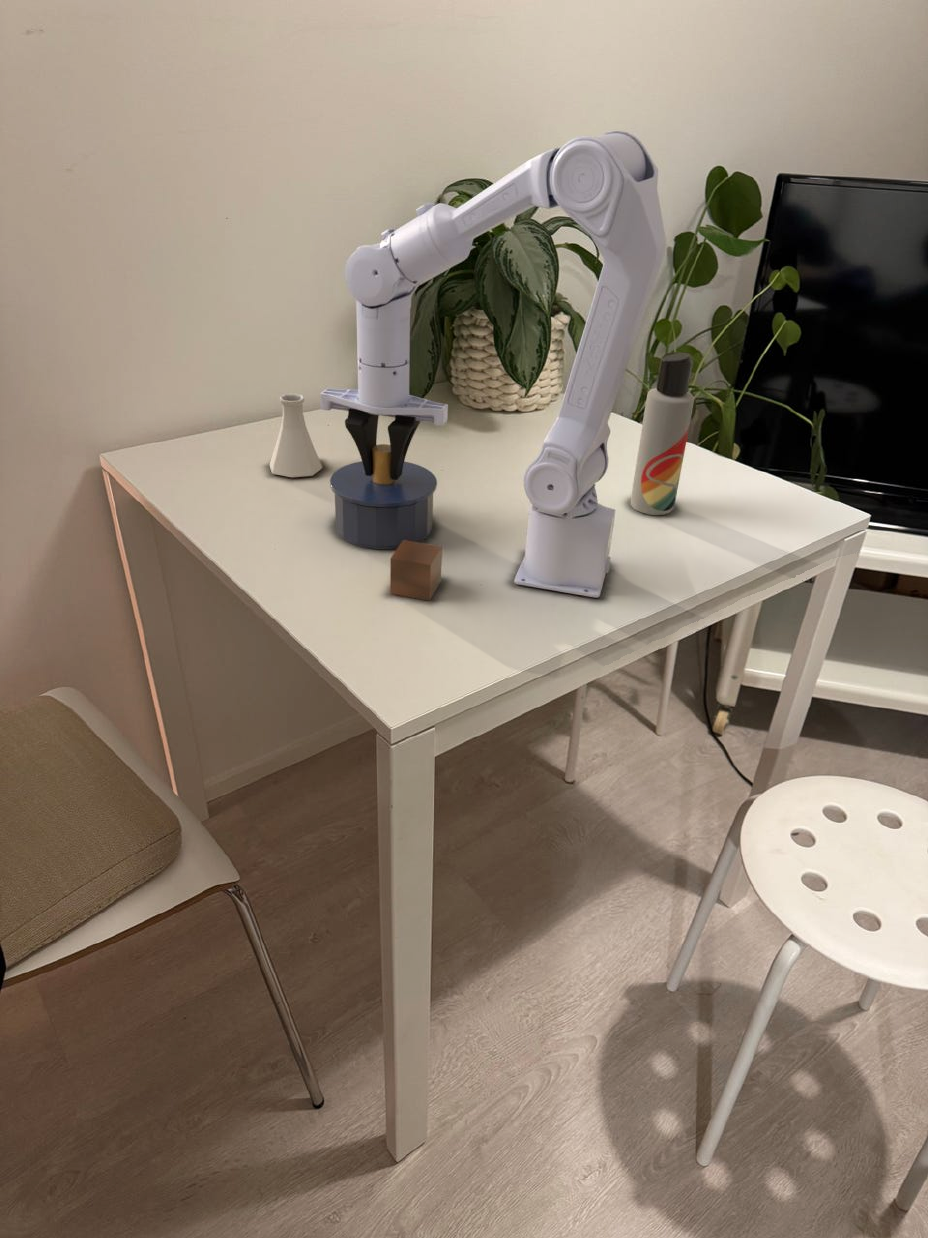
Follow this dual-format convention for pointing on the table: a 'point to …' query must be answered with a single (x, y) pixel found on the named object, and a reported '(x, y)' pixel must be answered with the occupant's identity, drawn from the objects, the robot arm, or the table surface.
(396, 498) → the lid
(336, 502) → the tin
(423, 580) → the block
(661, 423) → the lotion bottle
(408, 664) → the table surface
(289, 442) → the flask
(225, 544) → the table surface
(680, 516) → the table surface
